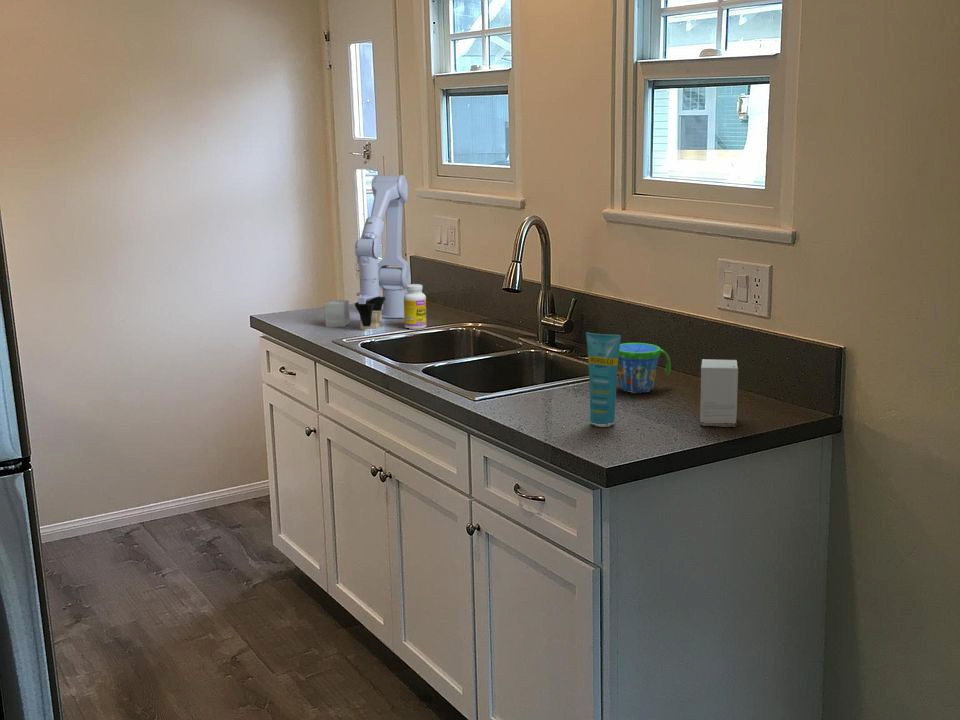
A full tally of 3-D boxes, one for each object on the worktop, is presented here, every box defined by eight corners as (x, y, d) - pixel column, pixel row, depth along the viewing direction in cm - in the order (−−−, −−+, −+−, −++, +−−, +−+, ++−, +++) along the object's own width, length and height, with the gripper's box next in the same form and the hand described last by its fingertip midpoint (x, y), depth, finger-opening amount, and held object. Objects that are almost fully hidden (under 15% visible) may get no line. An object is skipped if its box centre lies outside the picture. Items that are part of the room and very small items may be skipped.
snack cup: (665, 383, 247) (666, 341, 245) (675, 395, 237) (676, 351, 234) (599, 385, 246) (599, 343, 244) (606, 397, 236) (606, 353, 234)
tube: (582, 426, 216) (582, 334, 211) (588, 419, 220) (588, 329, 215) (617, 429, 213) (618, 337, 208) (623, 422, 217) (624, 332, 213)
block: (366, 326, 318) (365, 310, 317) (382, 327, 317) (381, 310, 316) (360, 330, 313) (359, 313, 312) (376, 330, 312) (375, 314, 311)
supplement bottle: (416, 330, 310) (415, 287, 307) (400, 328, 314) (398, 286, 311) (431, 326, 315) (430, 284, 312) (414, 324, 319) (413, 282, 316)
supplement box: (736, 418, 219) (738, 359, 216) (736, 428, 212) (738, 368, 209) (699, 416, 221) (701, 358, 218) (698, 427, 214) (700, 366, 211)
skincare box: (350, 323, 323) (349, 299, 321) (344, 327, 317) (343, 303, 315) (331, 323, 324) (330, 299, 322) (325, 327, 318) (323, 303, 316)
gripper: (365, 274, 319) (366, 318, 322) (347, 282, 306) (349, 328, 309) (387, 275, 318) (388, 319, 321) (370, 282, 304) (372, 328, 307)
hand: (371, 323), depth 315 cm, fingers open, 7 cm apart
